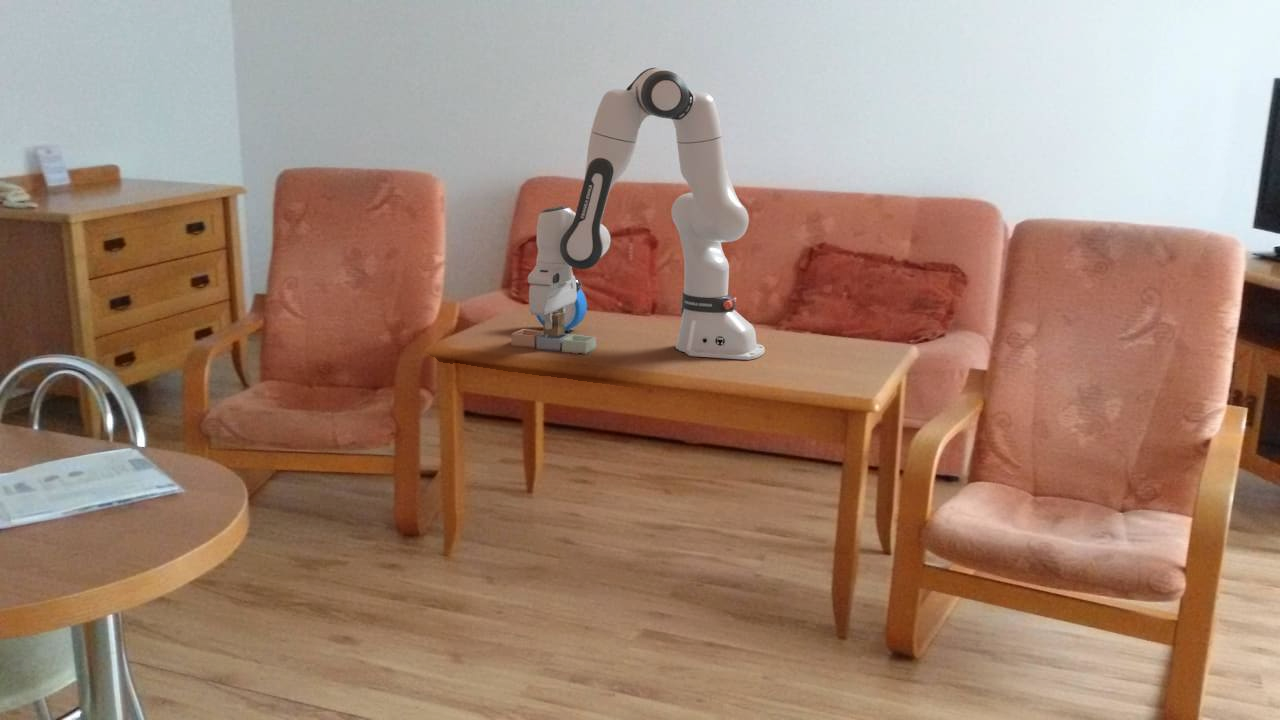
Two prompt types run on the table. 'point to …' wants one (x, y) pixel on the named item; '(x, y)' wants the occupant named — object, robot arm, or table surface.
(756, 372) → the table surface
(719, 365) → the table surface
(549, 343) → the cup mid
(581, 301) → the alarm clock
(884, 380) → the table surface
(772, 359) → the table surface
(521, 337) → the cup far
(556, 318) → the brown block
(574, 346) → the pale green square tray
